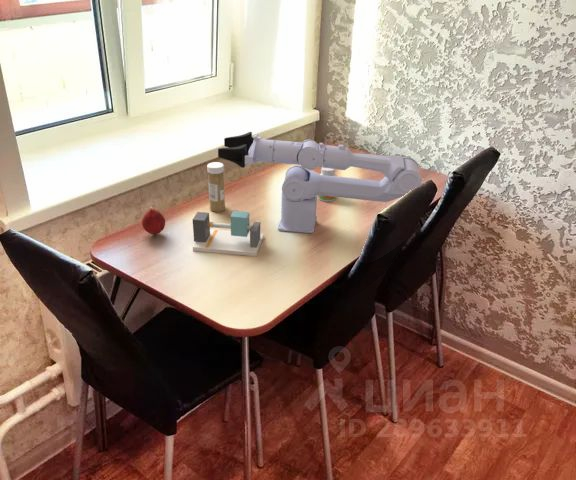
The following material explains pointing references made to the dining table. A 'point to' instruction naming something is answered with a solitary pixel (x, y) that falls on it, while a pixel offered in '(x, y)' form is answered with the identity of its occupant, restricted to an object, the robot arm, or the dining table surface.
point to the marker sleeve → (239, 223)
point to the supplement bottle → (330, 173)
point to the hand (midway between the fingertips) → (221, 147)
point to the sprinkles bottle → (216, 186)
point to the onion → (153, 221)
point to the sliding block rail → (224, 237)
